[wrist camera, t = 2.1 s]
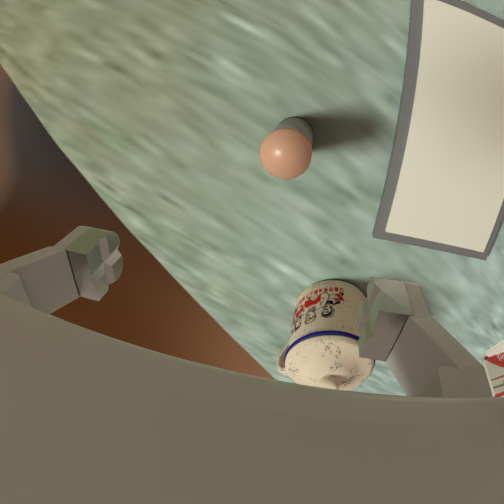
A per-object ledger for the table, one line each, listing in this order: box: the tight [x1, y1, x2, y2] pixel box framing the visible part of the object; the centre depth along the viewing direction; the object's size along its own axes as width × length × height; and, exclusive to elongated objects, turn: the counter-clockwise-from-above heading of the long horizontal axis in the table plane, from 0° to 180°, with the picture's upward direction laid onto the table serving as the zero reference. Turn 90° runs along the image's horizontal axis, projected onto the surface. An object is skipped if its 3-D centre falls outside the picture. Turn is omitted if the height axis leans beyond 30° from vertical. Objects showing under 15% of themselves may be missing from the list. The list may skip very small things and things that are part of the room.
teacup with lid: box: [277, 280, 375, 391], centre depth 32 cm, size 12×9×12 cm
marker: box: [260, 117, 314, 179], centre depth 24 cm, size 4×4×8 cm
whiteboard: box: [372, 0, 504, 260], centre depth 22 cm, size 25×14×1 cm, turn 176°
